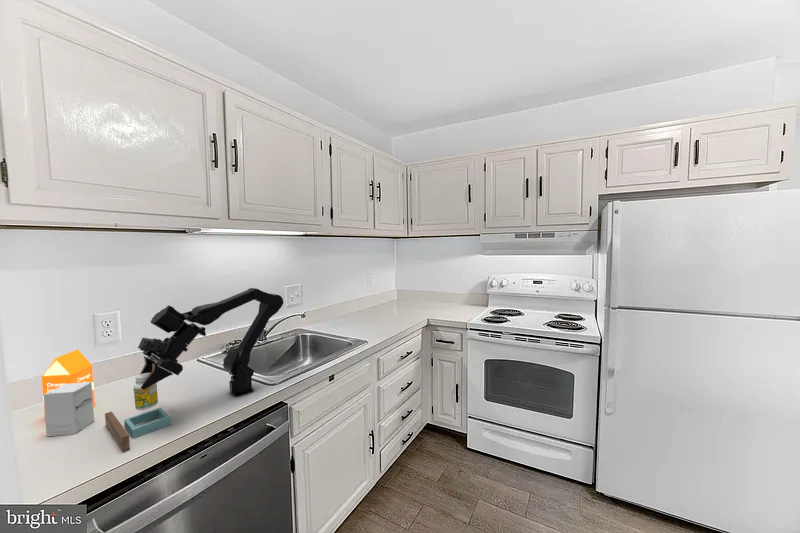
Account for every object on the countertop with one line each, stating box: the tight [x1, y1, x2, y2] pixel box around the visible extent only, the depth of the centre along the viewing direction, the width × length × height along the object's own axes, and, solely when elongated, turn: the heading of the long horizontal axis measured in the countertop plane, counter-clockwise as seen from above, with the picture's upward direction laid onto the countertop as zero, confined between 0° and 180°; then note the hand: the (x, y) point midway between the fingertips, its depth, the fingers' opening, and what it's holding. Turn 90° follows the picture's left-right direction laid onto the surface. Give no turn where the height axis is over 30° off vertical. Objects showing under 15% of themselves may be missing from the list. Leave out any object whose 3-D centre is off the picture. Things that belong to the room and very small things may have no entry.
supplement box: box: [43, 382, 95, 437], centre depth 94 cm, size 7×7×13 cm
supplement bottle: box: [133, 373, 159, 411], centre depth 95 cm, size 5×5×10 cm
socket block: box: [123, 406, 172, 439], centre depth 95 cm, size 9×9×2 cm
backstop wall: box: [104, 411, 131, 453], centre depth 90 cm, size 2×20×4 cm, turn 52°
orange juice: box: [41, 349, 96, 413], centre depth 102 cm, size 8×9×20 cm
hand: (139, 386), depth 94 cm, fingers closed on supplement bottle, 5 cm apart
